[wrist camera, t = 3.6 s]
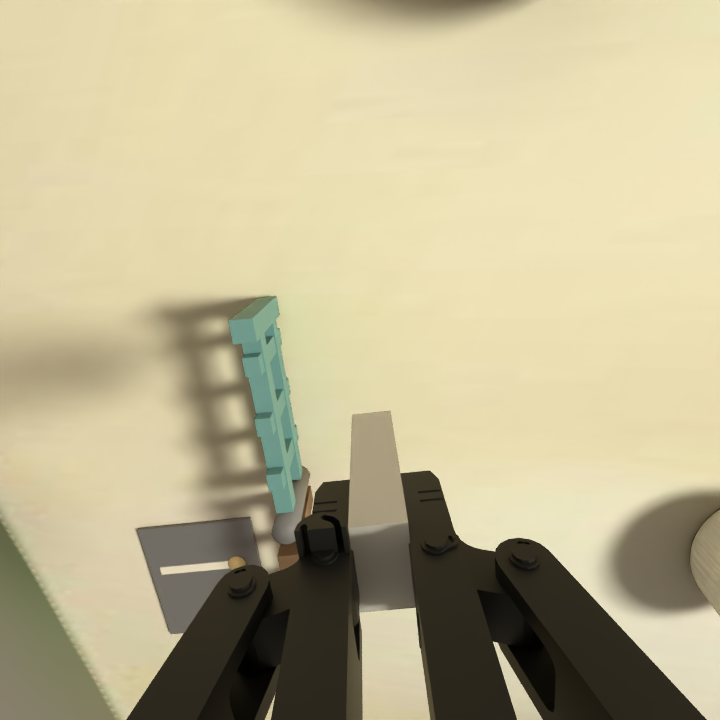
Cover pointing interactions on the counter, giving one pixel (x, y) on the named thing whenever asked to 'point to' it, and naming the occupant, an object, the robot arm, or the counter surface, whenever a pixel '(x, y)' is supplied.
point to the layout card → (195, 562)
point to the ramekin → (708, 559)
